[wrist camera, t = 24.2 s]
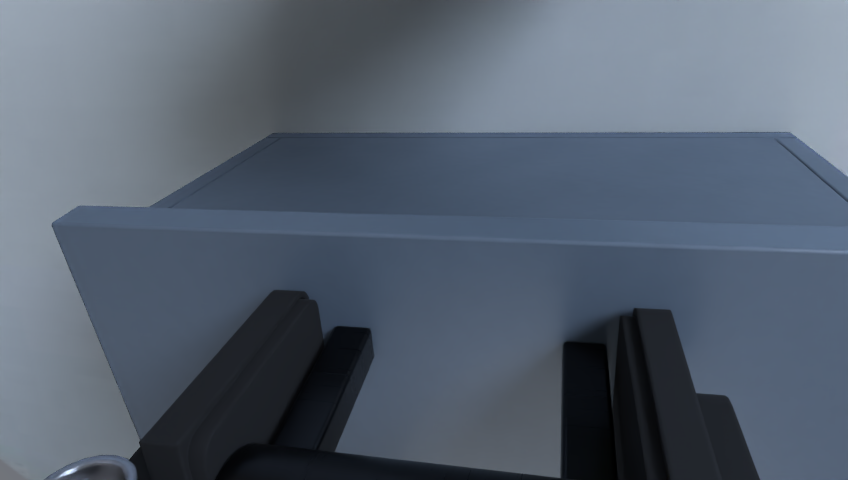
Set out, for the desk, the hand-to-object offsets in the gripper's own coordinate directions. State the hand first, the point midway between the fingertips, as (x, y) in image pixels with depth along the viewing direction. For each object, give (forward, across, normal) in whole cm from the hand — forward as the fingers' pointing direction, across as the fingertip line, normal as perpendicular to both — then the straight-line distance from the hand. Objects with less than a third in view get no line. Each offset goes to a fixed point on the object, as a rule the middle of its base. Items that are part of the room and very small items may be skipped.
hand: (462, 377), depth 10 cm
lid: (+2, 0, +5) cm, 6 cm away
